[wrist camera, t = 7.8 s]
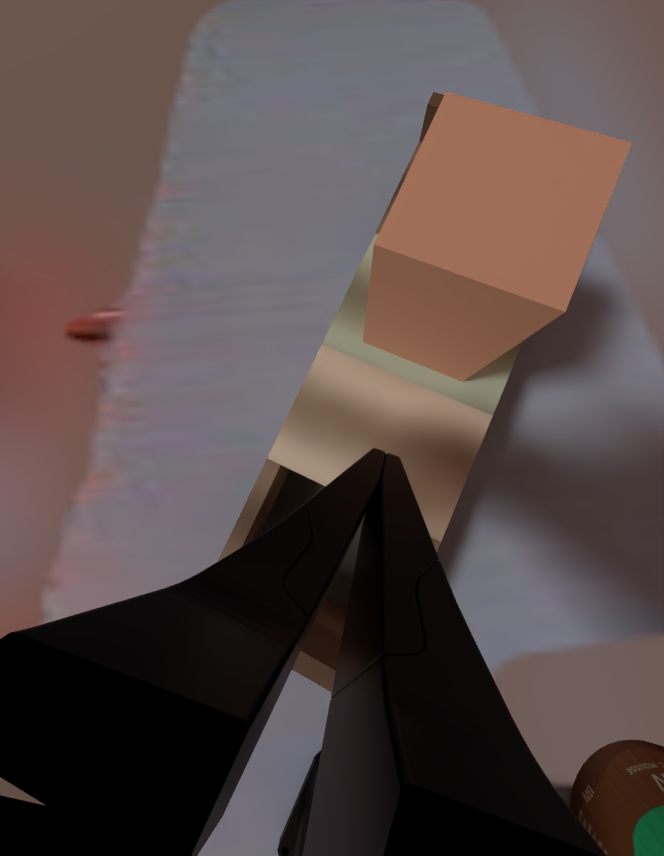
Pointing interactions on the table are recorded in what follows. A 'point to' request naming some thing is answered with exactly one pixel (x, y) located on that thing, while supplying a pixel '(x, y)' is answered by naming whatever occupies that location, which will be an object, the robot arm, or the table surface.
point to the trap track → (370, 440)
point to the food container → (623, 798)
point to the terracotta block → (486, 234)
